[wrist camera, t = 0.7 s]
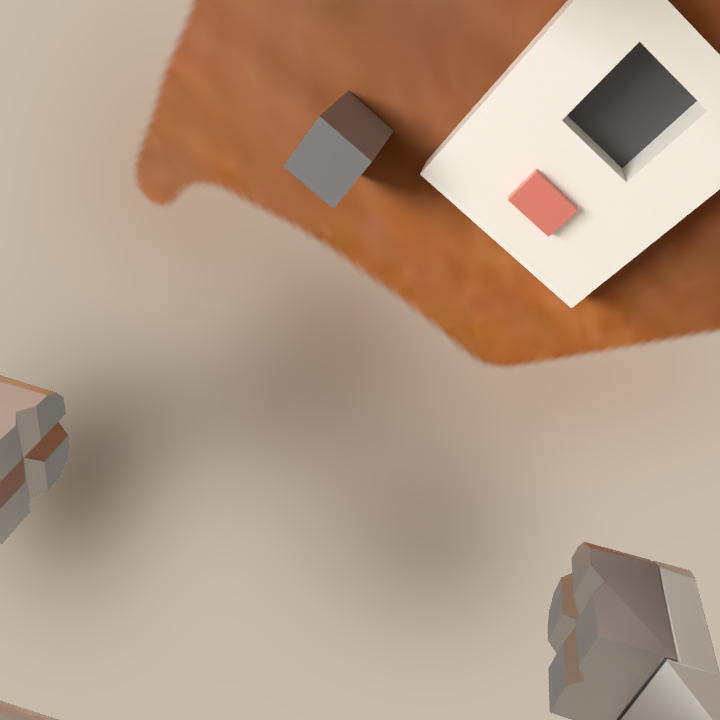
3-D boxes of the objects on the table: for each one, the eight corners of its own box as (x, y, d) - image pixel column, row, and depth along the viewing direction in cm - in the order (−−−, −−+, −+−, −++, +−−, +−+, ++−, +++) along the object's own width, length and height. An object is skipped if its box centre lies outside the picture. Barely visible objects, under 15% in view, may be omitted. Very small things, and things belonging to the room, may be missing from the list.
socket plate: (614, -54, 37) (620, -51, 34) (777, 118, 40) (796, 135, 37) (426, 160, 46) (418, 178, 43) (570, 288, 49) (571, 313, 46)
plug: (348, 90, 45) (319, 116, 39) (393, 131, 45) (372, 161, 40) (314, 136, 47) (283, 166, 41) (358, 174, 48) (333, 208, 42)
